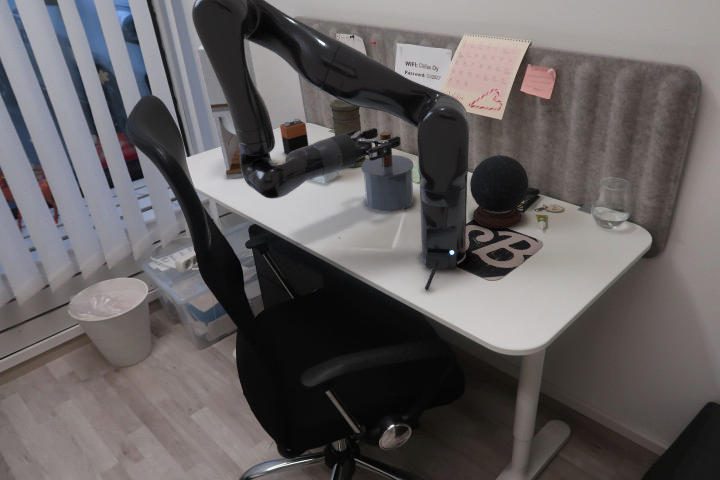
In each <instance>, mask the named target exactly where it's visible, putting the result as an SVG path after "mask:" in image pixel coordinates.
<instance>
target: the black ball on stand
mask: <svg viewBox="0 0 720 480" xmlns="http://www.w3.org/2000/svg"><path fill="white" fill-rule="evenodd" d="M469 186H470V187H469V189H470V193H471V196H472V198H473V200H474V202H475V203H476V205H478V206H477V207H476V209H474V211H473V214H472V215H473V220H474V221H475V222H476V223H477V224H478V225H480V226H482V227H485V228H487V229H488V228H489V229H496V230H497V229H499V230H500V229H508V228H512V227H516V226H517V225H519V223H521V221H522V212H521V211H520V209H519V208H518V207H519V206H520V205H522V202H523V201H524V200H525V198H526V196H527V194H528V191H529V190H528V189H529V178H528V173H527V171H526V170H525V168H524V166H523V165H522V164H521V163H520V162H519V161H518V160H516V159H515V158H513V157H512V156H511V157H510V156H508V155H502V154H499V155H492V156H489V157H487V158H485V159H483V160H482V161H481V162H479V164H477V166H475V168H474V170H473V171H472V175H471V177H470V180H469Z"/></svg>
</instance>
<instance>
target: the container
mask: <svg viewBox="0 0 720 480" xmlns="http://www.w3.org/2000/svg"><path fill="white" fill-rule="evenodd" d="M329 107H330V108H331V113H332V118H331V119H332V123H333V124H332V125H333V131H334V136H336V135H339V134H342V133H345V132H348V131H351V130H356V131H357V132H358V131H362V123H361V114H360V108H361V107H358V106H354V105H351V104H348V103H345V102H342V101H340V100H338V99H336V98H335V99H333V100H331V101H330V103H329ZM351 136H352V134H351V135H350V137H351ZM366 157H367V156H366ZM366 157H359V158H358V160H357V162H356V164H355V165H354V166H351V167H348V168H347V169H354V168H355V169H356V168H358V167H359V168H360V167H361V165H362V163H363V162H365V161H366V160H367V158H366Z"/></svg>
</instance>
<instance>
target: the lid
mask: <svg viewBox="0 0 720 480" xmlns="http://www.w3.org/2000/svg"><path fill="white" fill-rule="evenodd" d="M390 138H392V133H391V131H387V130H386V131H380V133H379V141H381V140H387V139H390ZM380 145H383V144H380ZM360 169H361V170H360V171H361V172H362V173H363V175H364V174H366V175H368V176H371V177H377V178H392V177H398V176H402V175H404V174H407V173H409V172H410V171H411V170H412V171H413V169H414V161H412V159H411V158H408V157H406V156H404V155H403V156H402V155H395V154H393V153H392V154H391V155H388V156H385V157H382V158H379V159H376V160H373V161H370V160H369V158H368V159H366V161H365V162H363V163H362V165H361V166H360Z"/></svg>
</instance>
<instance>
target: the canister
mask: <svg viewBox="0 0 720 480" xmlns="http://www.w3.org/2000/svg"><path fill="white" fill-rule="evenodd" d="M413 179H414V176H413V169H412V170H411V171H410V172H409V173H407V174H404V175H402V176H398V177H392V178H377V177H371V176H368V175H366V174H364V173H363V184H364V194H365V203H366V205H367V206H368V207H369V208H371V209H372V210H377V211H379V212H394V211H400V210H403V211H405V210H407V209H409V208H410V207H411V206H413V203H414V186H413V185H414V183H413V182H414V180H413Z"/></svg>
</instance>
